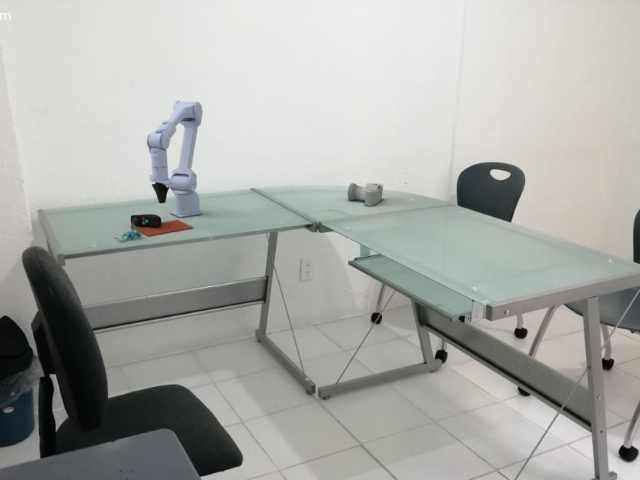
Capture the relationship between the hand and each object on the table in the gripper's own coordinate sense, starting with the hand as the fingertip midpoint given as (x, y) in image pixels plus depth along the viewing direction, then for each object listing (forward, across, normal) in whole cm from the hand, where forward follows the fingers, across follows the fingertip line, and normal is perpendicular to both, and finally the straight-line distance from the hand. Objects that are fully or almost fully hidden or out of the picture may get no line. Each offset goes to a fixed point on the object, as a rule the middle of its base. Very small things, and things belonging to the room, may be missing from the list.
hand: (162, 202), depth 227 cm
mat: (+9, +4, -2) cm, 10 cm away
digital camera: (+9, +16, +92) cm, 94 cm away
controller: (+7, -4, -1) cm, 8 cm away
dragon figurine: (+9, +9, -18) cm, 22 cm away
